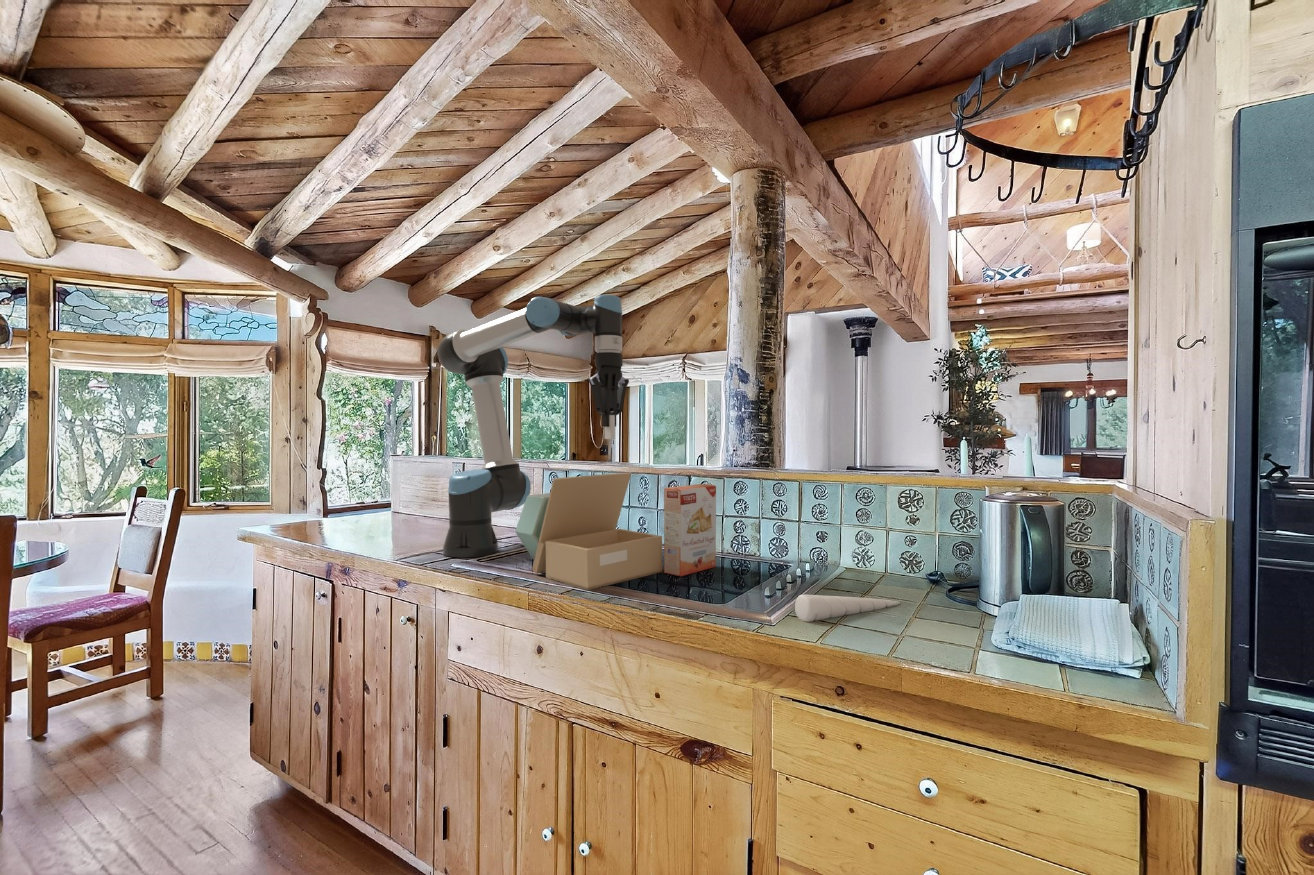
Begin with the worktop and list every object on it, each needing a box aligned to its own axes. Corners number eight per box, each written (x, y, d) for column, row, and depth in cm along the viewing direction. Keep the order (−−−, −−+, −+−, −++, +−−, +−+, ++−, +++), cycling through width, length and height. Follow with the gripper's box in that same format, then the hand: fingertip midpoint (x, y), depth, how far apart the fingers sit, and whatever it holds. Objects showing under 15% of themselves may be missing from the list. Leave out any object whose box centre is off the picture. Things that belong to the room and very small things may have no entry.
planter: (558, 577, 160) (521, 518, 152) (541, 573, 166) (504, 515, 157) (598, 535, 171) (565, 478, 162) (580, 532, 176) (548, 476, 167)
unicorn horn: (914, 610, 115) (914, 585, 115) (807, 626, 107) (807, 599, 107) (896, 603, 119) (896, 579, 119) (793, 618, 111) (792, 592, 111)
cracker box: (682, 577, 141) (681, 488, 141) (662, 573, 145) (662, 487, 145) (717, 567, 151) (717, 484, 151) (699, 563, 155) (698, 483, 155)
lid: (536, 573, 144) (531, 569, 146) (611, 558, 161) (606, 554, 162) (558, 482, 137) (553, 478, 139) (634, 475, 154) (629, 472, 155)
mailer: (546, 577, 142) (545, 540, 142) (619, 562, 158) (619, 528, 158) (587, 590, 131) (587, 550, 130) (662, 571, 147) (662, 536, 147)
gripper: (598, 349, 157) (599, 439, 157) (635, 353, 166) (636, 438, 167) (581, 352, 162) (582, 439, 163) (617, 356, 172) (618, 438, 172)
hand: (609, 438), depth 165 cm, fingers closed
